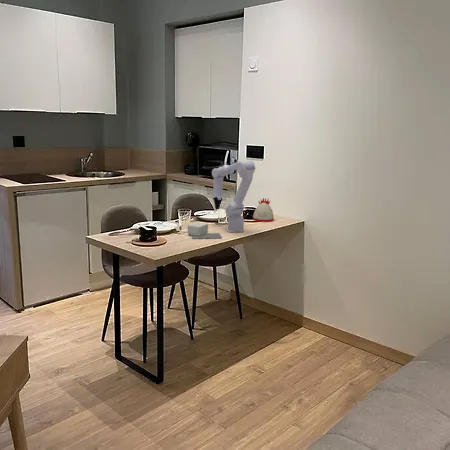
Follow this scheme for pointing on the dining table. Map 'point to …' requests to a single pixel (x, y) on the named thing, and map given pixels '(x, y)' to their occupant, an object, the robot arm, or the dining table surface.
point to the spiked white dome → (263, 212)
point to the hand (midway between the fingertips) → (217, 209)
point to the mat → (207, 236)
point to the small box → (197, 228)
